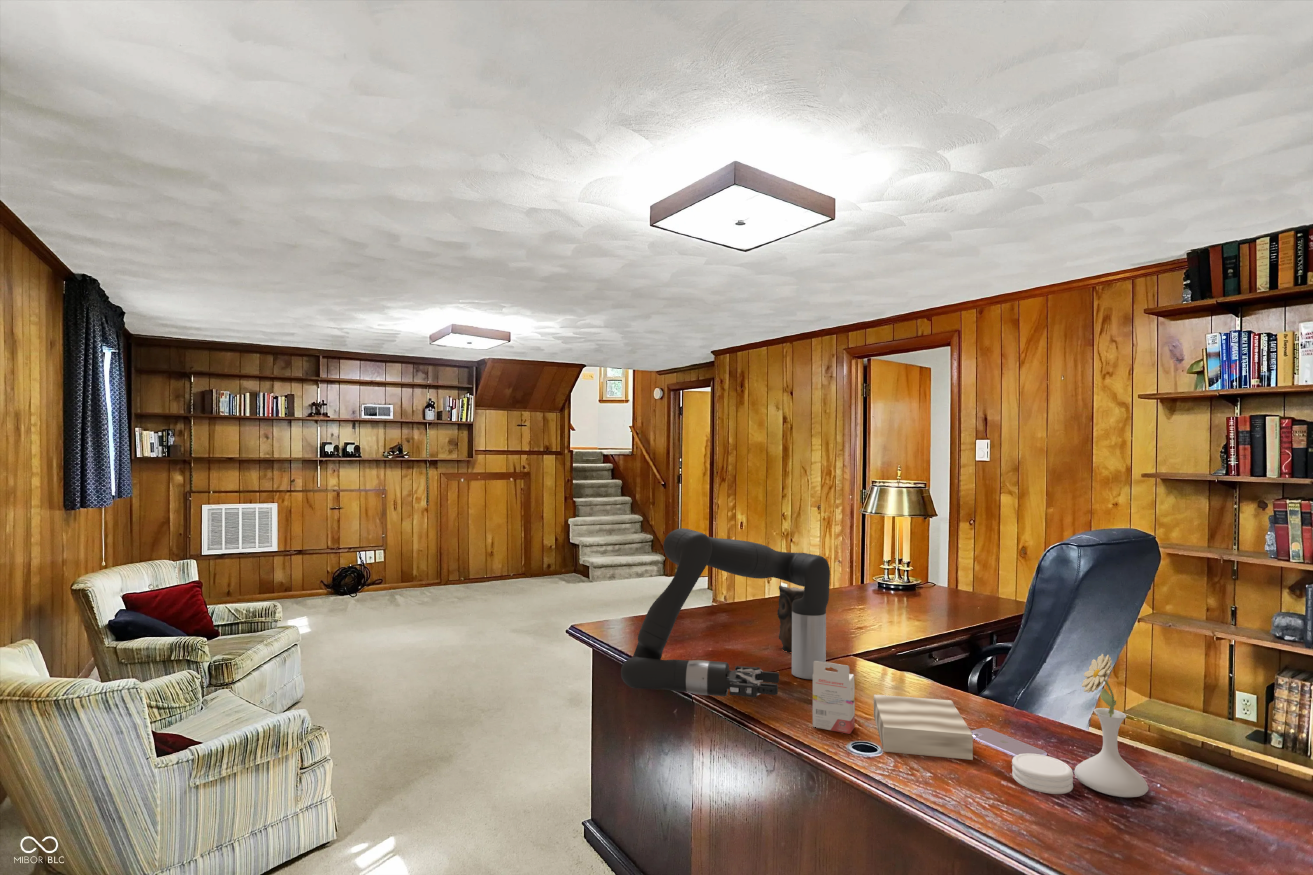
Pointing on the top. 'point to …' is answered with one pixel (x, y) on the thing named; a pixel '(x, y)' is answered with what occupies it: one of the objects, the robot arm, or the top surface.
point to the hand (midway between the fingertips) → (778, 683)
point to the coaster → (1042, 773)
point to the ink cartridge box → (833, 697)
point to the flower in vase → (1108, 744)
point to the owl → (787, 614)
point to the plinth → (922, 727)
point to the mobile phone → (1004, 742)
